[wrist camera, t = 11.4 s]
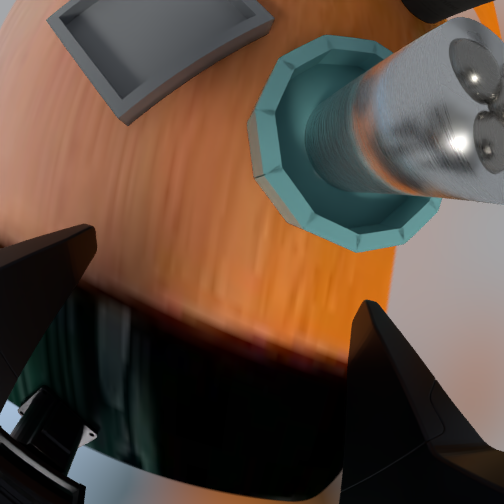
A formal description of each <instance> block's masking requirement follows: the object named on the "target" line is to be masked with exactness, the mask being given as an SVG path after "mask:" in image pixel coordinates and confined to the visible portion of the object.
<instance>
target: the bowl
mask: <svg viewBox="0 0 504 504" xmlns="http://www.w3.org/2000/svg"><path fill="white" fill-rule="evenodd" d="M392 54H393V52H391V51H390V50H388V49H387V48H385V47H384V46H382V45H381V44H379V43H377V42H376V41H372V40H366V39H359V38H351V37H343V36H334V35H323V36H321V37H319V38H317V39H315V40H313V41H311V42H309V43H307V44H305V45H303V46H301V47H299V48H297V49H295V50H293V51H291V52H289V53H287V54H285V55H283V56H282V57H280V58H279V59H278V61H277V63H276V65H275V66H274V68H273V70H272V72H271V74H270V75H269V77H268V79H267V81H266V83H265V85H264V87H263V89H262V92H261V94H260V96H259V98H258V100H257V102H256V104H255V107H254V109H253V111H252V113H251V115H250V117H249V120H248V122H247V131H248V139H249V146H250V154H251V161H252V169H253V177H256V178H254V179H255V181H256V182H257V183H258V185H259V186H260V187H261V188H262V190H263V191H264V192H265V194H266V195H267V196H268V198H269V199H270V200H271V202H272V203H273V204H274V206H275V207H276V208H277V210H278V211H279V213H280V214H281V215H282V217H283V218H284V219H285V221H286V222H288V223H289V224H291V225H294V226H296V227H298V228H301V229H303V230H305V231H308V232H310V233H312V234H315V235H317V236H319V237H321V238H324V239H326V240H328V241H331V242H333V243H335V244H337V245H340V246H342V247H344V248H346V249H349V250H351V251H353V252H356V253H358V252H364V251H369V250H375V249H380V248H386V247H391V246H397V245H402V244H404V243H406V242H407V241H408V240H409V239H410V238H412V237H413V236H414V235H415V234H416V233H417V232H418V231H419V230H420V229H421V228H422V227H423V226H424V225H425V224H426V223H427V222H428V221H429V220H430V219H431V218H432V217H433V216H434V215H435V214H436V213H437V211H438V209H439V207H440V203H441V200H442V198H436V197H424V196H411V195H396V194H379V193H359V192H346V191H342V190H339V189H337V188H335V187H333V186H331V185H329V184H328V183H327V182H325V181H324V180H323V179H322V178H321V177H320V176H319V175H318V174H317V172H316V171H315V170H314V168H313V167H312V165H311V163H310V161H309V158H308V156H307V152H306V148H305V141H304V136H305V127H306V124H307V121H308V119H309V116H310V115H311V113H312V112H313V110H314V109H315V108H316V107H317V106H318V105H319V104H320V103H322V102H323V101H324V100H326V99H327V98H329V97H330V96H331V95H333V94H334V93H336V92H337V91H338V90H340V89H341V88H343V87H344V86H345V85H347V84H348V83H350V82H351V81H353V80H354V79H356V78H357V77H359V76H360V75H361V74H363V73H364V72H366V71H367V70H369V69H370V68H372V67H373V66H375V65H376V64H378V63H379V62H381V61H383V60H384V59H386V58H387V57H389V56H390V55H392Z"/></svg>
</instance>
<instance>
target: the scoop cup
mask: <svg viewBox="0 0 504 504" xmlns="http://www.w3.org/2000/svg"><path fill="white" fill-rule="evenodd" d="M304 141H305V148H306V152H307V156H308V158H309V161H310V163H311V165H312V167H313V168H314V170H315V171H316V172H317V174H318V175H319V176H320V177H321V178H322V179H323V180H324V181H325V182H327V183H328V184H329V185H331V186H333V187H335V188H337V189H339V190H342V191H346V192H359V193H379V194H396V195H411V196H424V197H436V198H447V199H458V200H467V201H477V202H485V203H493V204H502V205H504V43H503V42H502V41H501V39H500V38H499V37H498V36H497V35H495V34H494V33H493V32H492V31H491V30H490V29H488V28H487V27H485V26H484V25H482V24H481V23H479V22H477V21H475V20H472V19H469V18H464V17H457V18H454V19H451V20H449V21H447V22H445V23H444V24H442V25H440V26H438V27H437V28H435V29H433V30H431V31H430V32H428V33H426V34H424V35H423V36H421V37H419V38H418V39H416V40H414V41H413V42H411V43H409V44H408V45H406V46H405V47H403V48H401V49H400V50H398V51H397V52H395V53H393V54H392V55H390V56H389V57H387V58H386V59H384V60H383V61H381V62H379V63H378V64H376V65H375V66H373V67H372V68H370V69H369V70H367V71H366V72H364V73H363V74H361V75H360V76H359V77H357V78H356V79H354V80H353V81H351V82H350V83H348V84H347V85H345V86H344V87H343V88H341V89H340V90H338V91H337V92H336V93H334V94H333V95H331V96H330V97H329V98H327V99H326V100H324V101H323V102H322V103H320V104H319V105H318V106H317V107H316V108H315V109H314V110H313V112H312V113H311V115H310V116H309V119H308V121H307V124H306V127H305V136H304Z"/></svg>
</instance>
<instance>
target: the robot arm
mask: <svg viewBox="0 0 504 504" xmlns="http://www.w3.org/2000/svg"><path fill="white" fill-rule="evenodd" d="M96 251H97V240H96V231H95V228H94V227H93V226H91V225H88V224H81V225H77V226H74V227H70V228H67V229H63V230H60V231H56V232H53V233H49V234H46V235H43V236H39V237H36V238H33V239H29V240H26V241H23V242H20V243H17V244H14V245H11V246H8V247H5V248H2V249H0V413H1V411H2V409H3V407H4V405H5V403H6V401H7V399H8V397H9V395H10V393H11V391H12V389H13V387H14V385H15V383H16V381H17V380H18V377H19V376H20V374H21V372H22V370H23V368H24V367H25V365H26V363H27V361H28V360H29V358H30V356H31V354H32V353H33V351H34V349H35V348H36V346H37V344H38V343H39V341H40V340H41V338H42V336H43V335H44V333H45V332H46V330H47V328H48V327H49V325H50V324H51V322H52V321H53V319H54V318H55V316H56V315H57V313H58V312H59V310H60V309H61V307H62V306H63V304H64V303H65V301H66V300H67V298H68V297H69V296H70V294H71V293H72V291H73V290H74V288H75V287H76V285H77V284H78V282H79V280H80V279H81V277H82V275H83V274H84V272H85V270H86V269H87V267H88V265H89V264H90V262H91V260H92V259H93V257H94V255H95V254H96ZM45 391H46V392H45ZM18 413H19V414H20V415H21V416H22V418H21V419H20V421H19V422H18V423H17V425H16V427H15V428H14V430H13V431H12V433H11V434H10V435H9V434H8V433H7V432H6V431H4V430H3V429H2V428H1V426H0V504H84V498H85V490H86V486H84V485H82V484H79V483H77V482H75V481H74V480H72V479H70V478H69V477H67V474H68V472H69V469H70V467H71V464H72V461H73V459H74V456H75V454H76V451H77V449H78V448H79V447H81V446H83V445H84V444H86V443H88V442H90V441H92V440H93V439H95V438H96V437H97V435H98V433H97V431H96V430H95V429H94V428H92V427H91V426H90V425H89V424H88V423H86V422H85V421H84V420H83V419H82V418H80V417H79V416H78V415H77V414H76V413H75V412H74V411H73V410H71V409H70V408H69V407H68V406H67V405H66V404H65V403H64V402H63V401H62V400H61V399H60V398H59V397H58V396H56V395H55V394H54V393H53V392H52V391H51V390H50V389H49V388H48V387H47V386H42V387H41V388H40V389H39V390H38V391H36V392H35V393H34V394H33V395H32V396H31V397H30V398H29V399H28V400H27V401H26V402H25V403H24V404H22V405H21V406H20V407H19V409H18ZM92 433H93V434H92ZM339 504H504V452H502V451H499V450H496V449H494V448H492V447H491V446H489V445H488V444H487V443H486V442H484V441H483V439H482V438H481V437H480V436H479V434H478V433H477V432H476V431H475V429H474V428H473V427H472V426H471V424H470V423H469V422H468V421H467V419H466V418H465V417H464V416H463V414H461V412H460V411H459V409H458V408H457V407H456V406H455V404H454V403H453V402H452V401H451V399H450V398H449V397H448V395H447V394H446V392H445V391H444V390H443V389H442V387H441V386H440V384H439V383H438V381H437V380H435V377H434V376H433V375H432V373H431V372H430V370H429V369H428V368H427V366H426V365H425V364H424V362H423V361H422V359H421V358H420V357H419V355H418V354H417V353H416V351H415V350H414V349H413V347H412V346H411V345H410V344H409V342H408V341H407V340H406V338H405V337H404V336H403V335H402V333H401V332H400V331H399V329H398V328H397V327H396V326H395V324H394V323H393V322H392V320H391V319H390V318H389V317H388V315H387V314H386V313H385V312H384V310H383V309H382V308H381V307H380V305H379V304H378V303H377V302H374V301H370V300H364V301H363V302H362V304H361V306H360V308H359V310H358V311H357V313H356V315H355V317H354V319H353V322H352V328H351V339H350V348H349V357H348V368H347V412H346V434H345V450H344V463H343V474H342V484H341V493H340V500H339Z"/></svg>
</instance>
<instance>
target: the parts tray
mask: <svg viewBox="0 0 504 504" xmlns="http://www.w3.org/2000/svg"><path fill="white" fill-rule="evenodd" d="M274 19H275V18H274V17H273V16H272V15H271V14H270V13H269V12H268V11H267V10H266V9H265V8H264V7H263V6H262V5H261V4H260V3H259V2H258V1H256V0H70V1H69V2H68V3H66V4H65V5H64V6H62V7H61V8H60V9H59V10H57V11H56V12H55V13H54V14H53V15H51V16H50V17H49V18H48V19H47V20H46V21H47V22H48V24H49V25H50V26H51V28H52V29H53V31H54V32H55V33H56V35H57V36H58V38H59V39H60V40H61V42H62V43H63V45H64V46H65V47H66V49H67V50H68V52H69V53H70V54H71V56H72V57H73V58H74V60H75V61H76V63H77V64H78V65H79V67H80V68H81V69H82V71H83V72H84V74H85V75H86V76H87V78H88V79H89V80H90V82H91V83H92V84H93V86H94V87H95V88H96V90H97V91H98V92H99V94H100V95H101V96H102V98H103V99H104V100H105V102H106V103H107V104H108V106H109V107H110V108H111V110H112V111H113V112H114V114H115V115H116V116H117V118H118V119H119V120H121V121H122V122H123V123H124V124H126V125H127V126H129V125H130V124H131V123H132V122H134V121H135V120H136V119H137V118H139V117H140V116H141V115H142V114H144V113H145V112H146V111H147V110H149V109H150V108H151V107H153V106H154V105H155V104H156V103H158V102H159V101H160V100H162V99H163V98H164V97H166V96H167V95H169V94H170V93H171V92H173V91H174V90H176V89H177V88H178V87H180V86H181V85H183V84H184V83H186V82H187V81H188V80H190V79H191V78H193V77H194V76H196V75H197V74H199V73H201V72H202V71H204V70H205V69H207V68H208V67H210V66H212V65H213V64H215V63H216V62H218V61H220V60H221V59H223V58H225V57H226V56H228V55H230V54H231V53H233V52H235V51H237V50H238V49H240V48H242V47H244V46H246V45H247V44H249V43H251V42H253V41H255V40H257V39H259V38H261V37H263V36H265V35H267V34H268V33H269V30H270V28H271V26H272V23H273V21H274Z"/></svg>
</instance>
